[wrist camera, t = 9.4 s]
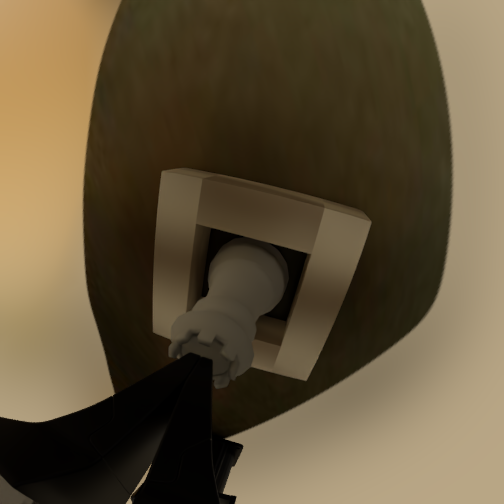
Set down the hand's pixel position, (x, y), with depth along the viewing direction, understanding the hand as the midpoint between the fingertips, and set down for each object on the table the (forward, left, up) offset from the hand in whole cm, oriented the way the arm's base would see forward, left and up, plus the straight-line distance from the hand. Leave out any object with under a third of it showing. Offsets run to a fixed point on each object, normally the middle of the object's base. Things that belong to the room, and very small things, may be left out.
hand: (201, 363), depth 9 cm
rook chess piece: (0, 0, -8) cm, 8 cm away
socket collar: (0, 0, -8) cm, 8 cm away
